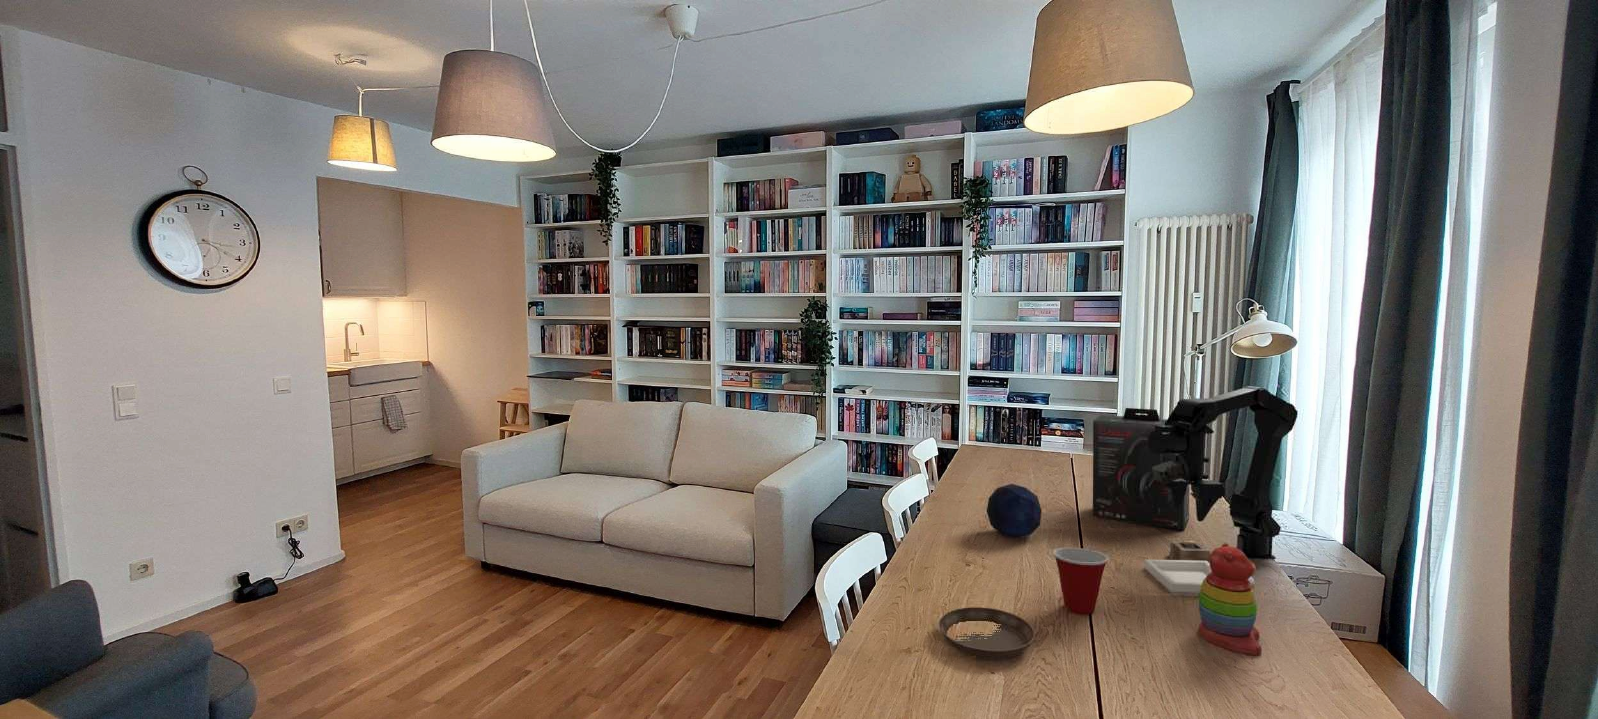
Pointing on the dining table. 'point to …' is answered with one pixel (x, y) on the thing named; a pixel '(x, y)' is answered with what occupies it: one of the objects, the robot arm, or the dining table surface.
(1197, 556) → the brown hollow block
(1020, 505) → the decorative orb
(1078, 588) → the plastic cup
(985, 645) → the plant saucer
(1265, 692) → the dining table surface
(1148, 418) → the headset box
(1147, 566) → the tray
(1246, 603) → the stacking bear
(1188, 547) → the grey rounded piece
